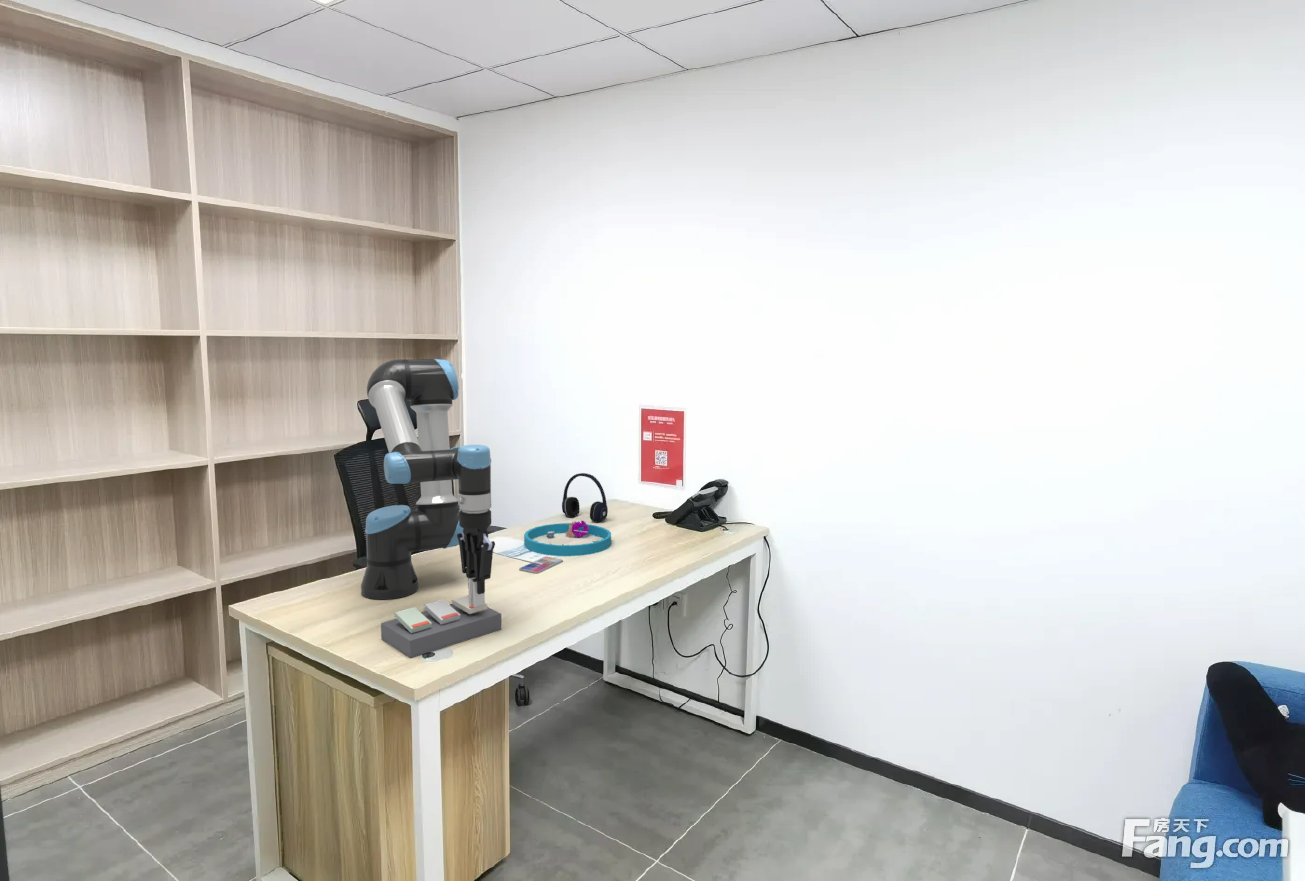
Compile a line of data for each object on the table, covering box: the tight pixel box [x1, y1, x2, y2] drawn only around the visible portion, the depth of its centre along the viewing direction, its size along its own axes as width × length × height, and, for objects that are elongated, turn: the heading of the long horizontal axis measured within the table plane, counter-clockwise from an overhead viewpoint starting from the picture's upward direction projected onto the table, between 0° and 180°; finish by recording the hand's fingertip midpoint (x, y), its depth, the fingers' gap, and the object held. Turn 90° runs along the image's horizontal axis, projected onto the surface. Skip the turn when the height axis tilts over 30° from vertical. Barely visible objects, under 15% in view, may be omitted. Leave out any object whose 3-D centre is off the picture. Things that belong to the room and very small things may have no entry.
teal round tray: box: [523, 520, 612, 557], centre depth 257 cm, size 30×30×6 cm
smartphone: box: [518, 556, 564, 575], centre depth 232 cm, size 7×1×15 cm
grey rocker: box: [423, 599, 460, 625], centre depth 177 cm, size 8×5×1 cm, turn 46°
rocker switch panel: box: [380, 603, 502, 659], centre depth 179 cm, size 19×24×5 cm
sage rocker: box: [394, 606, 432, 633], centre depth 171 cm, size 8×5×1 cm, turn 46°
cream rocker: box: [451, 594, 488, 614], centre depth 182 cm, size 8×5×1 cm, turn 46°
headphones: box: [561, 472, 609, 523], centre depth 290 cm, size 20×7×18 cm, turn 57°
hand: (476, 604), depth 180 cm, fingers closed
